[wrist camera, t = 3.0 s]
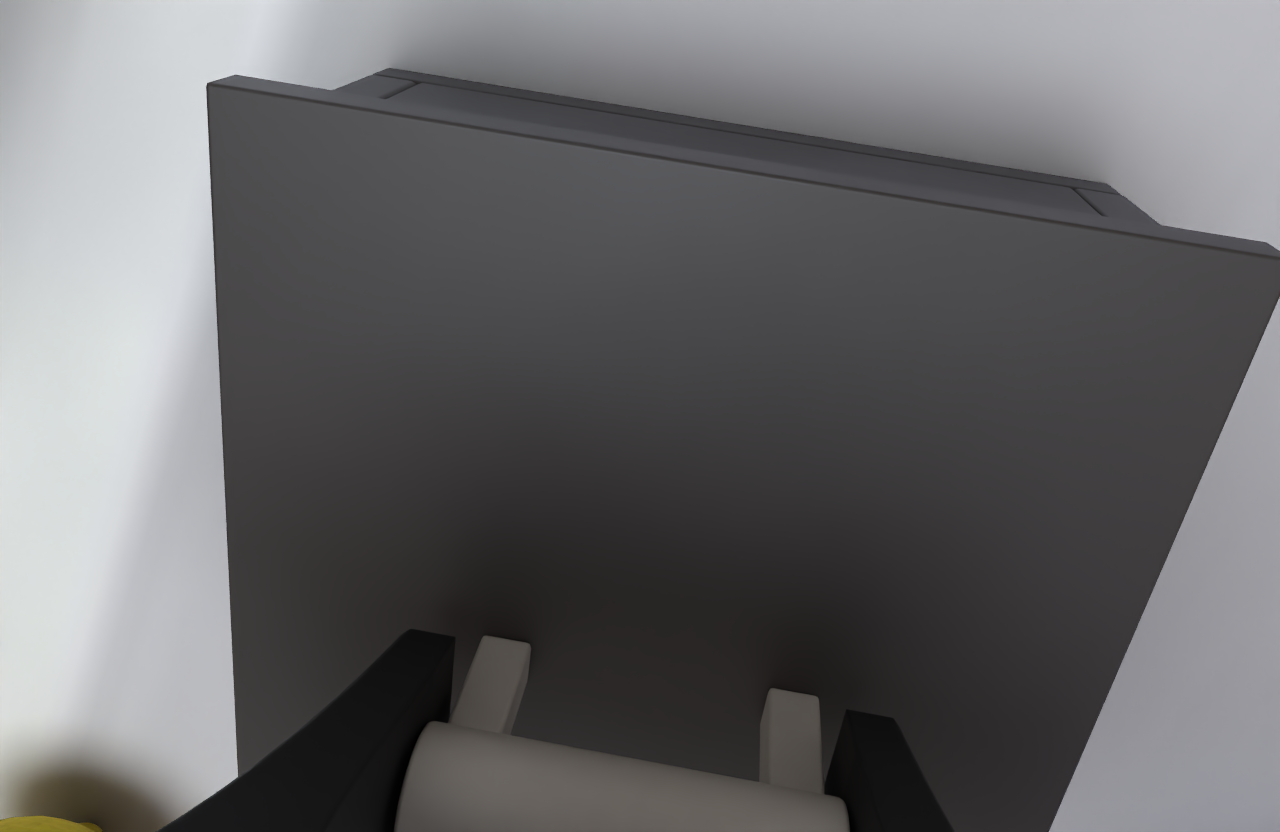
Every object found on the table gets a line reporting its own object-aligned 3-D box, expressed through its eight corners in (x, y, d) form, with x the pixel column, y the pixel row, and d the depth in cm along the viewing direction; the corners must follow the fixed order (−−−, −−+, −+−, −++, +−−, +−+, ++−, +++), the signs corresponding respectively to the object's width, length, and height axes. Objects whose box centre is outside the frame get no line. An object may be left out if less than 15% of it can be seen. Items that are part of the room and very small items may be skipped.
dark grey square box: (386, 66, 17) (237, 124, 13) (1110, 183, 17) (1246, 291, 12) (370, 624, 22) (260, 818, 18) (926, 727, 22) (970, 956, 17)
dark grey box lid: (232, 73, 12) (1, 139, 9) (1269, 241, 12) (1495, 389, 8) (259, 821, 18) (124, 1058, 14) (970, 958, 17) (1024, 1244, 13)
